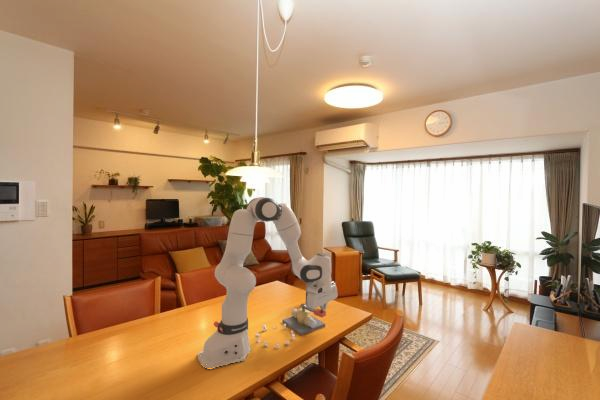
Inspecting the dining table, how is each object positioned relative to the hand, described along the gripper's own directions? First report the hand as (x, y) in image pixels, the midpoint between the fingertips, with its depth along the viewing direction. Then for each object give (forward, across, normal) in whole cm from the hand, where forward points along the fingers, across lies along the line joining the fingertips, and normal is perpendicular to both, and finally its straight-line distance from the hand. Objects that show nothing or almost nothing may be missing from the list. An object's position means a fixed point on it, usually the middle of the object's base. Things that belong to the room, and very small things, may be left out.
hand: (323, 311), depth 141 cm
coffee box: (+10, -21, -27) cm, 36 cm away
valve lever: (+1, +3, -5) cm, 6 cm away
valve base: (+10, +3, -11) cm, 15 cm away
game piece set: (+10, +22, -12) cm, 27 cm away
